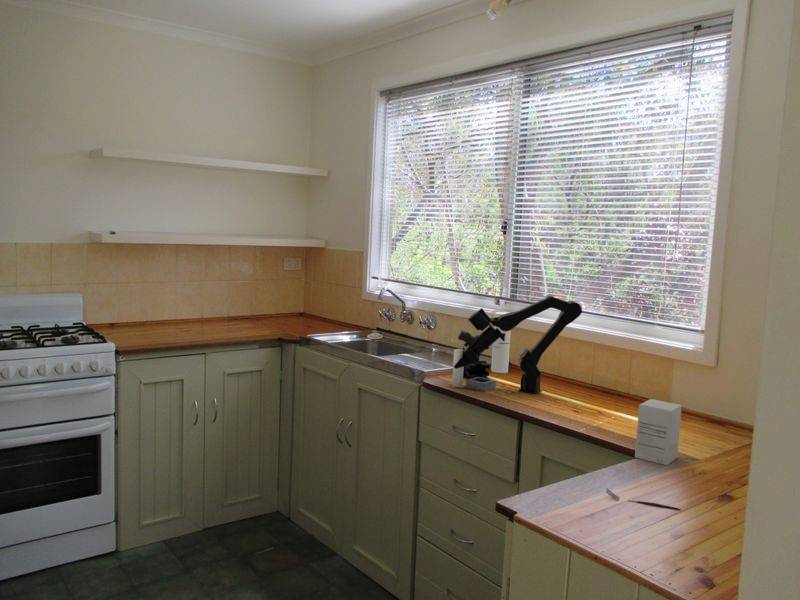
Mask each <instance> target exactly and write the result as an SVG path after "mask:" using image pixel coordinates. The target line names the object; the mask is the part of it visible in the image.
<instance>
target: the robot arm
mask: <svg viewBox="0 0 800 600" xmlns="http://www.w3.org/2000/svg"><path fill="white" fill-rule="evenodd" d="M550 308H553V309H554V310H558V311H560V312H559V314H558V316H557V318H556V320H555V321H554V322H553V323H552V324H551V326H550V327H549V328H548V329H547V331H545V332H544V334H543V335H542V336H541V338H540V339H539V340H538V341H537V342H536V343H535V345H534V346H533V347H532V348H530V349H529V348H527V347H525V349H524V351H523V352H522V353H521V354H519V358H518V366H519V368H520V369H521V371H522V372H524V373H522V375H521V377H520V384H519V385H520V388H519V389H518V391H519V392H523V393H524V392H525V393H528V394H532V395H534V394H538V393H541V392H543V390H542V389H541V382H542V381H541V379H542V375H541V374H542V371H541V370H540V369H539V367H538V366H537V365H538V363H539V362H540V360H541V357H542V356H543V354H544V353H545V351H547V349H548V348H549V347H550V346H551V344H553V342H554V341H555V339H557V337H558V336H559V335H560V334H561V333H562V332H563V330H564V329H565V328H566V327H567V326H569V324H571V323H573V322H575V320H576V319H577V318H579V317H580V316H582V315H581V314H582V313H583V309H582V305H581V304H580V303H579V302H576V301H575V300H568V301H566V300H564V299H561V298H557V297H554V296H552V295H547V296H546V297H545V298H543V299H540V300H538V301H537V302H534V303H532V304H530V305H527V306H525V307H523V308H521V309H519V310H516V311H511V312H506V313H507V314H503V315H501V316H499V317H496V318H494V317H490V316H488V314H487V313H486V312H485V310H484V309H483V308H480V309H478V310H477V311H475V312H473V313H472V314H471V315H470V317H468V319H467V321H468V322H469V323H470V324H471V325H472V326H473V327H474V328H475V330H476V331H481V333H480V334H477V335H475V336H474V335H473V334H471V333H470V332H468V331H466V330H463V329H461V331H460V332H459V335H458V337H457V339H458V340H460V341H463V342H464V343H463V346H462V350H463V356H462V357H461V358H460V360H459V361H458V362H457V363H456V364H455V366H454V368H455V369H457V368H460V367H463V366H466V365H470V364H475V365H476V364H477V363H478V362H479V361H480V357H481V355H482V354H483V353H484V352H485V351H486V350H487V351H488V350H489V349H490V346H491V347H492V346H493V343H494V342H495V341H497V340H498V339H499V338H501V339H502V340H503V341H505V333H501V331H500V330H499V329H498V328H495V329H494V326H496V327H499V328H500V329H501V330H502V331H510V330H511V331H512V329H514V328H515V327H517V326H518V325H519V324H520V323H522V322H523V321H525V320H527V319H529V318H532V317H533V316H535V315H538V314H540V313H542V312H545V311H547V310H549V309H550ZM482 331H483V332H482Z"/></svg>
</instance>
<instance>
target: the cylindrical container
mask: <svg viewBox="0 0 800 600" xmlns="http://www.w3.org/2000/svg"><path fill="white" fill-rule="evenodd" d="M507 313H508V312H504V311H496V312H494V316H493V318H496V317H499V316H501V315H503V314H507ZM493 328H494V329H495V328H498V329H499V330H500V331H501V333H505V341H503V340H502V339H501V338H499V339H498V340H497V341H495V342H494V343H493V344H492V350H491V352H492V353H491V366H490V371H491V372H493V373H497V374H506V373H507V374H508V373H509V362H510V361H509V360H510V346H511V345H510V344H511V331H512V329H511V330H510V331H502V330H501V329H500V328H499V327H496V326H493Z"/></svg>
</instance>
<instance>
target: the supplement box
mask: <svg viewBox="0 0 800 600" xmlns="http://www.w3.org/2000/svg"><path fill="white" fill-rule="evenodd" d="M682 407H683V406H682V404H677V403H673V402H668V401H667V402H666V401H663V400H658V399H652V398H649V399H648V400H646V401H644V402H642V403H640V404H638V414H637V415H638V416H637V425H636V426H637V427H636V428H637V429H636V439H635V452H634V458H637V459H640V460H643V461H649V462H651V463H655V464H660V465H665V466H669V464H671V463H672V462H673V461H674V460H676V459H677V458H678V453H679V443H680V442H679V441H680V432H681V431H680V429H681V417H682V409H683V408H682Z"/></svg>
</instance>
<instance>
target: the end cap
mask: <svg viewBox="0 0 800 600" xmlns="http://www.w3.org/2000/svg"><path fill="white" fill-rule="evenodd" d="M487 369H488V370H491V366H490V364H488V363H487V360H479V362H478V363H477V364H476V365H475V364H470V365H466V366H464V371H463V379H466V380H467V379H471V378H476V377H482V378H486V379H489V376H490V371H488V370H487Z"/></svg>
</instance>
